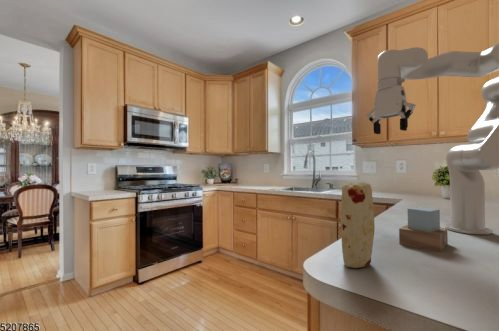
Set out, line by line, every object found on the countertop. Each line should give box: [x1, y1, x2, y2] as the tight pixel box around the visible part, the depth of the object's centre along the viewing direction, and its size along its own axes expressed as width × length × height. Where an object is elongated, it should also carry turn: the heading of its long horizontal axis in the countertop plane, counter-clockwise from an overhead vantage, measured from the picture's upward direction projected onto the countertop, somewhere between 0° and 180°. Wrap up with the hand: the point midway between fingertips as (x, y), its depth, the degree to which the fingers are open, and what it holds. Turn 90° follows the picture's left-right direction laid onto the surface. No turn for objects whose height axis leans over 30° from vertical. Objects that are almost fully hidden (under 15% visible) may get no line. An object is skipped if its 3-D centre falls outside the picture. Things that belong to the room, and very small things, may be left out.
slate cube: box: [407, 206, 441, 232], centre depth 75 cm, size 6×6×6 cm
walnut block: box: [398, 223, 449, 253], centre depth 75 cm, size 10×10×5 cm
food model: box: [340, 181, 376, 269], centre depth 59 cm, size 10×7×20 cm
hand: (389, 132), depth 91 cm, fingers open, 9 cm apart
